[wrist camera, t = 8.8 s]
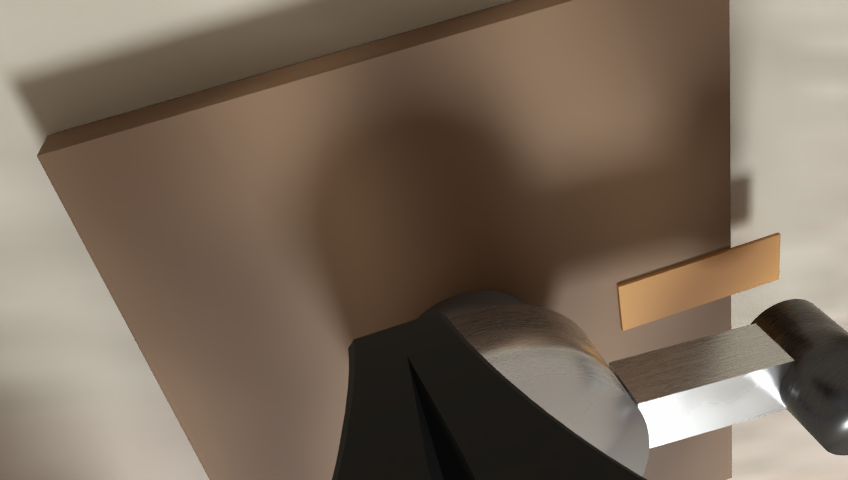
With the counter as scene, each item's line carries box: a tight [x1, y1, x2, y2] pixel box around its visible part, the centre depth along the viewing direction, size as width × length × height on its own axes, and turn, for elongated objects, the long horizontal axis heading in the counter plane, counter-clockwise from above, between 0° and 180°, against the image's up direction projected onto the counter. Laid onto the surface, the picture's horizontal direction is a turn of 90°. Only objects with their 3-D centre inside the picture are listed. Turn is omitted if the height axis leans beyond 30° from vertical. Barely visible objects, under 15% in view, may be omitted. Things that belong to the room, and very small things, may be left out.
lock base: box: [37, 0, 780, 480], centre depth 22 cm, size 18×18×3 cm
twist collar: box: [450, 299, 848, 476], centre depth 19 cm, size 12×6×4 cm, turn 98°
